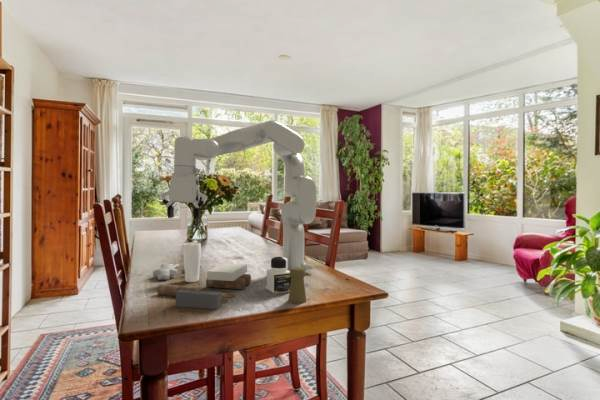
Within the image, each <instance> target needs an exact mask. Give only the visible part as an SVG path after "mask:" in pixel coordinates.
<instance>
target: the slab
mask: <svg viewBox="0 0 600 400" xmlns="http://www.w3.org/2000/svg"><path fill="white" fill-rule="evenodd" d="M206 271H207V272H206V274H207V275H206V279H208V280H223V281H234V280H236V279H237V278H239V277H240V276H242V275H243V274H247V272H248V264H246V263H230V262H229V263H228V262H227V263H226V262H223V263H221V264H219V265H217V266H214V267H212V268H210V269H208V270H206Z"/></svg>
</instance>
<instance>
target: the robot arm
mask: <svg viewBox="0 0 600 400" xmlns="http://www.w3.org/2000/svg"><path fill="white" fill-rule="evenodd" d="M269 143H273V145H272V146H273V150H274V152H275V153H276V155H277V156H279V157H280V159H281V160H282V161H283V164H284V169H285V171H284V172H285V173H284V174H285V175H284V176H285V177H284V191H285V192H284V193H285V195H286V196H288V197H289V198H293V199H296V200H290V201H287V202H286V203H284V204H283V206H282V207H281V210H280V213H281V222H282V257H285V258H287V259H288V269H287V270H288V271H290V270H291V269H292V268H294V267H301V268H304V270H305V274H307V273H308V272H309V271H308V270H315V268H314V267H315V265H314V264H310V263H309V264H308V263H307V261H306V260H305V228H304V225H309V224H311V223H312V222H313V221H314V219H315V217H316V213H317V194H318V193H317V185H316V182H315V180H314V179H313V178H312V177H310V176H306V175H305V163H304V162H305V161H304V159H303V158H302V157H303V156H302V155H301V153H302V152H303V151H304V149H305V141H304V139H303V137H302V136H301V135H300V134H298V133H297V132H296V131H294V130H292V129H290V128H289V127H288V126H286V125H284V124H282V123H281V122H280V121H276V120H273V119H270V120H266V121H265V122H260V123H257V124H253V125H249V126H246V127H241V128H238V129H234V130H231V131H229V132H226V133H223V134H221V135H219V136H215V137H211V138H193V137H189V136H178V137H176V138H175V139H174V153H173V154H174V157H173V158H174V159H173V174H172V175H171V178H170V182H169V183H170V184H169V189H168V191H165V192H163V193H162V194H160V198H161V200H162V203H163V204H164V205H165V207H166V216H167V218H168V219H171V218H172V219H173V218H174V217H175V214H174V213H175V207H174V205H175V204H176V203H187V204H189V203H192V205H193V206H194V208H193V220H198V219H199V218H200V215H201V208H202V207H203V206H204V205H205V204H206V201H208V196H207V195H206V194H204V193H202V192H201V191H200V182H199V176H198V175H197V173H199V172H200V169H199V168H197V167H196V165H197V160H198V161H207V160H212V159H215V158H216V157H218V156H223V155H226V154H231V153H238V152H243V151H245V150H249V149H252V148H256V147H259V146H262V145H266V144H269ZM167 197H168V199H167ZM200 198H201V200H200Z"/></svg>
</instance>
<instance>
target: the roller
mask: <svg viewBox="0 0 600 400" xmlns="http://www.w3.org/2000/svg"><path fill="white" fill-rule="evenodd" d="M180 289H185V290H198V291H201V288H200V287H199V286H193V285H192V286H191V285H177V284H176V285H175V284H159V285H158V286H157V295H159V296H166V297H167V296H168V297H169V296H170V297H176V292H177V291H179V290H180Z"/></svg>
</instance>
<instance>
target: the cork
mask: <svg viewBox="0 0 600 400" xmlns="http://www.w3.org/2000/svg"><path fill="white" fill-rule="evenodd" d="M290 276H291V285H290V292H288V302H289V303H291V304H294V305H295V304H299V305H300V304H305V303H307V294H306V285H305V276H306V273H305V270H304V268H301V267H294V268H292V269H291V270H290Z"/></svg>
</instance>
